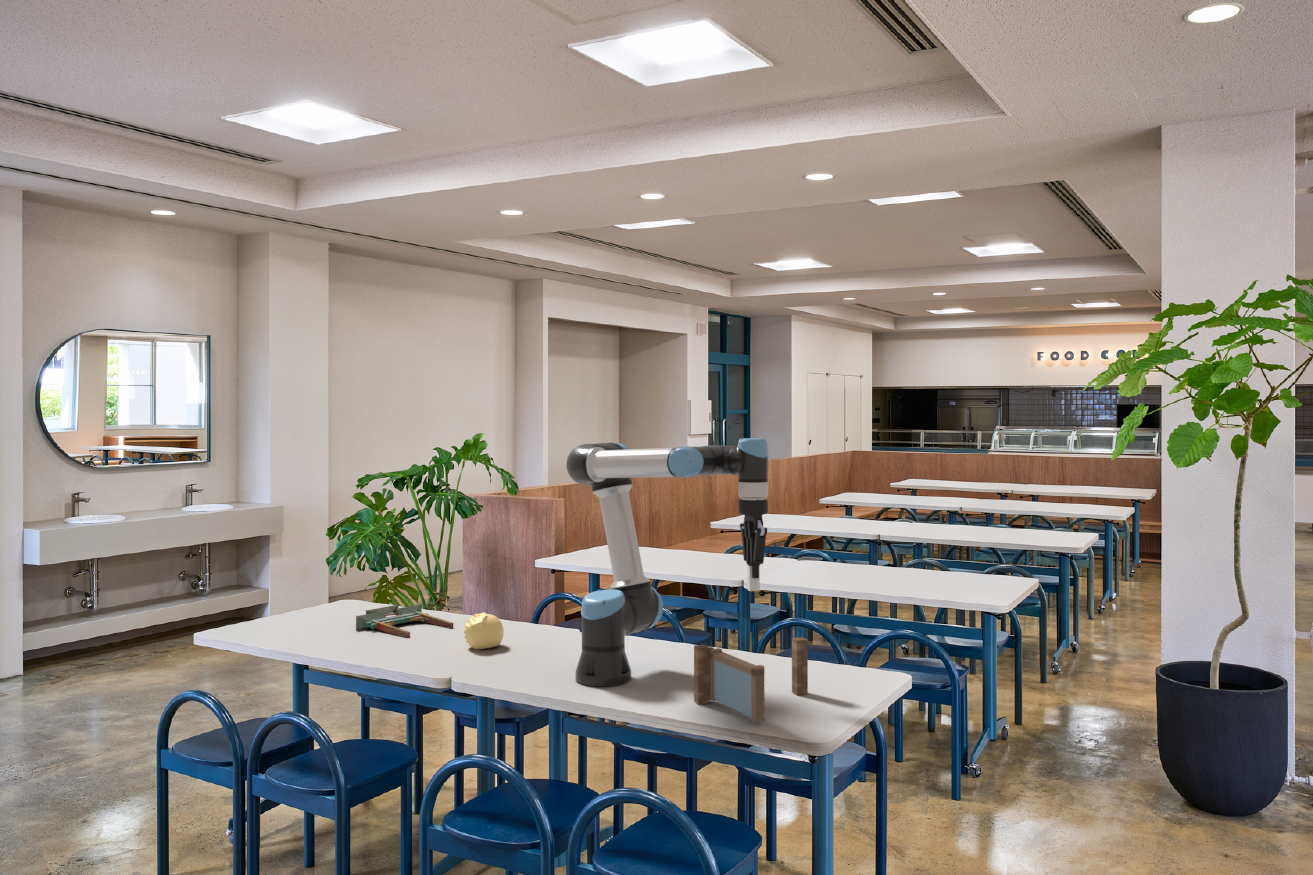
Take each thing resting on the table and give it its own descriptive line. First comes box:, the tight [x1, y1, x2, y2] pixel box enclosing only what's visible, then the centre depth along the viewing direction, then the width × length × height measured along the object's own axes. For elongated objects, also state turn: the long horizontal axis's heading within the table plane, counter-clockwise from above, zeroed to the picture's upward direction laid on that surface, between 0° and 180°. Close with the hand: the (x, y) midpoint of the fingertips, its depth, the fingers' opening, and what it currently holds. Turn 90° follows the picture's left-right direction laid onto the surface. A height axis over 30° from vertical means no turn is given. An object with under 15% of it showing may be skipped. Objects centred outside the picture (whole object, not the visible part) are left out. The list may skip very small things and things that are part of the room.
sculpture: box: [463, 611, 504, 650], centre depth 296 cm, size 12×12×11 cm
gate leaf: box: [710, 647, 766, 723], centre depth 227 cm, size 20×3×12 cm, turn 28°
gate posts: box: [693, 636, 809, 706], centre depth 240 cm, size 30×3×14 cm, turn 106°
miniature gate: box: [355, 603, 454, 638], centre depth 326 cm, size 27×6×30 cm
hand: (753, 590), depth 245 cm, fingers closed
